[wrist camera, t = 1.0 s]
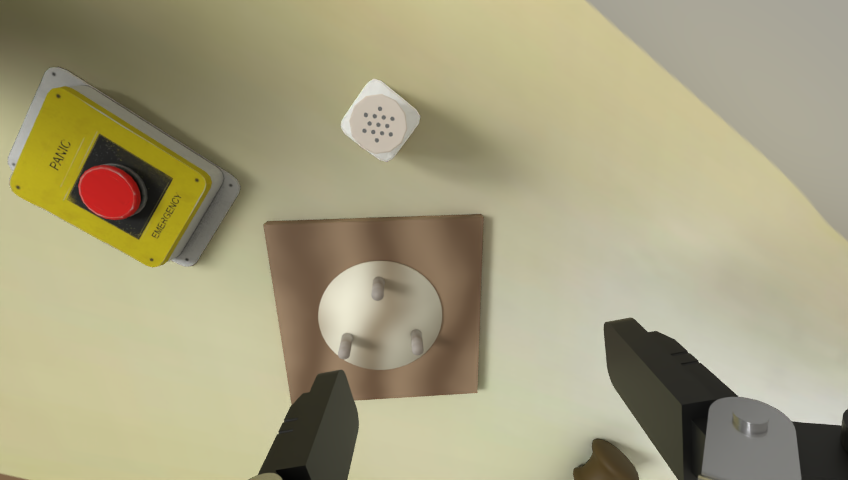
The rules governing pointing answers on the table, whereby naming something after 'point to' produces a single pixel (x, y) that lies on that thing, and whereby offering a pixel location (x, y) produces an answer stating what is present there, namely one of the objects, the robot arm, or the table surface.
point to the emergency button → (117, 174)
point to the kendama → (606, 464)
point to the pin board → (379, 302)
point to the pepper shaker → (380, 120)
